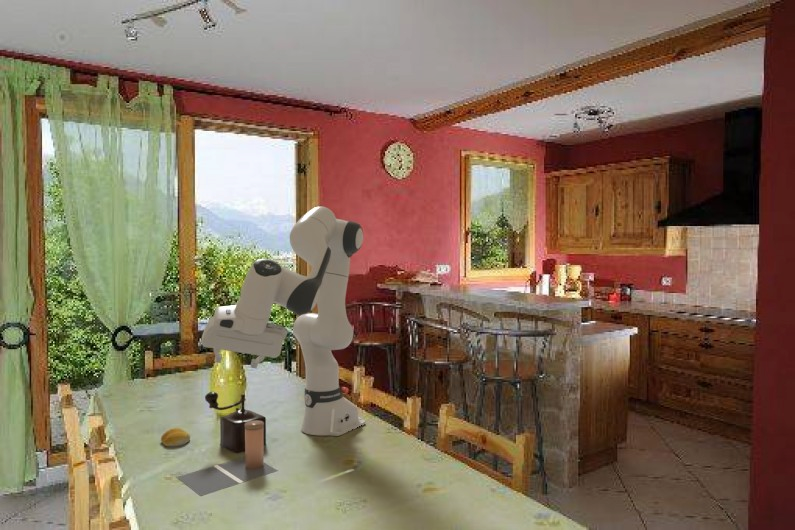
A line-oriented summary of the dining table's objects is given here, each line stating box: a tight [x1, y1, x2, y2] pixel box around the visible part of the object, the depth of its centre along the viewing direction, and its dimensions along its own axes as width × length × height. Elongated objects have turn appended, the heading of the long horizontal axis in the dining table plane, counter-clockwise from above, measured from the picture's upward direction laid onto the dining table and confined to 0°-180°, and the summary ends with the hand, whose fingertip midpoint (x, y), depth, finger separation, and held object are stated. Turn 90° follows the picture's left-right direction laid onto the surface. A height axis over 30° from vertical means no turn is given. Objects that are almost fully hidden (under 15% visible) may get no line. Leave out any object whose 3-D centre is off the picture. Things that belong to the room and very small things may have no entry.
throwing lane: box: [175, 456, 279, 497], centre depth 147 cm, size 22×15×1 cm
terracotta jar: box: [244, 420, 265, 469], centre depth 153 cm, size 5×5×12 cm
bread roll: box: [160, 427, 191, 447], centre depth 172 cm, size 8×9×4 cm
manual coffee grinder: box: [204, 391, 267, 454], centre depth 167 cm, size 16×11×18 cm
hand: (235, 364), depth 143 cm, fingers open, 8 cm apart
